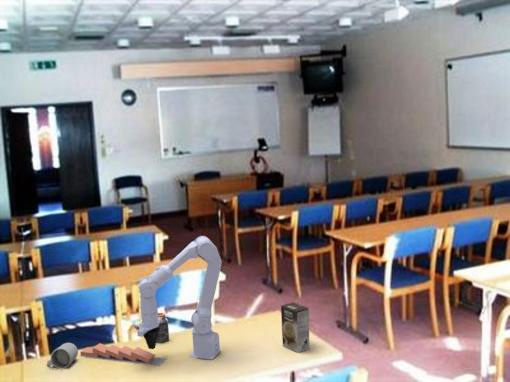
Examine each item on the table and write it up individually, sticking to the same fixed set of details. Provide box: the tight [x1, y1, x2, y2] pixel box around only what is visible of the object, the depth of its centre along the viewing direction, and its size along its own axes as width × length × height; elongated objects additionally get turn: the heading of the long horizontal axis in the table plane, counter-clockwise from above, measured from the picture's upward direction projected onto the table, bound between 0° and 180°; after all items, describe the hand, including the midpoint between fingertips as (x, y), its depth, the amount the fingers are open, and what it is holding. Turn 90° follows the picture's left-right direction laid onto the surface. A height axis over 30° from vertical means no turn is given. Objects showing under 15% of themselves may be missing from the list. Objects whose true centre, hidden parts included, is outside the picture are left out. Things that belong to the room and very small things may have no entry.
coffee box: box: [280, 301, 311, 353], centre depth 218 cm, size 9×6×16 cm
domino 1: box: [80, 346, 101, 358], centre depth 221 cm, size 2×4×8 cm
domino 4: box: [118, 345, 138, 362], centre depth 215 cm, size 2×4×8 cm
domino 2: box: [92, 342, 112, 359], centre depth 219 cm, size 2×4×8 cm
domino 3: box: [105, 344, 125, 360], centre depth 217 cm, size 2×4×8 cm
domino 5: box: [131, 346, 156, 363], centre depth 213 cm, size 2×4×8 cm
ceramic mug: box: [46, 342, 79, 369], centre depth 214 cm, size 11×8×8 cm
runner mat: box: [84, 356, 168, 367], centre depth 216 cm, size 32×6×1 cm, turn 70°
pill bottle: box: [156, 312, 170, 344], centre depth 231 cm, size 6×6×11 cm
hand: (151, 348), depth 211 cm, fingers closed
